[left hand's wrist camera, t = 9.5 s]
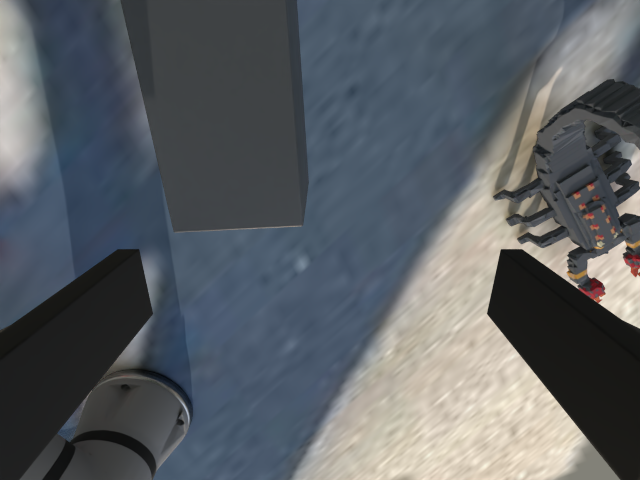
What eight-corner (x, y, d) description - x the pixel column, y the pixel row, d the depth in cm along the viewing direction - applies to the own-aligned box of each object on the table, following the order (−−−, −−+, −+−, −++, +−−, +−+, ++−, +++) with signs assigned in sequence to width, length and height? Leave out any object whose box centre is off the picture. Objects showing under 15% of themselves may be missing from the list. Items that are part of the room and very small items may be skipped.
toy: (573, 49, 34) (824, -6, 17) (654, 244, 42) (881, 339, 25) (456, 132, 37) (570, 155, 20) (552, 300, 45) (692, 418, 28)
